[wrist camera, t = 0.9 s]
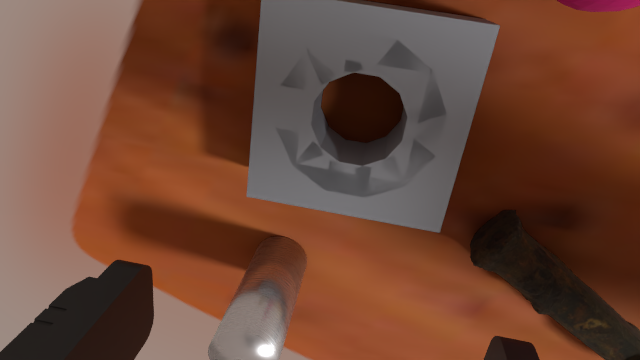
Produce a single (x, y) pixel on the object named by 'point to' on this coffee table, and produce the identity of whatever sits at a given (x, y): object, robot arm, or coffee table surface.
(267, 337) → the round bit
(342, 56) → the bore block
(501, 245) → the hand tool
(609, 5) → the pepper mill
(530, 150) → the coffee table surface
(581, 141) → the coffee table surface
